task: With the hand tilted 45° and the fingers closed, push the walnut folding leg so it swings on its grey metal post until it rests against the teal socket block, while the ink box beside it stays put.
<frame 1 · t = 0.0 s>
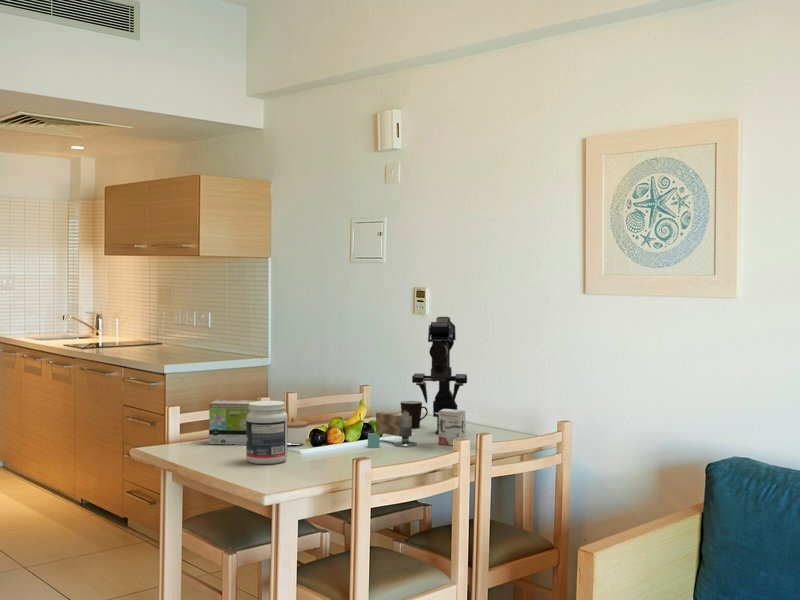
hand: (439, 403, 299), 15 cm above the table, tool pointing down, fingers open, 9 cm apart
ink box: (452, 444, 303), on the table
lidded jar: (292, 445, 301), on the table
supplement tub: (266, 461, 271), on the table
tea box: (232, 443, 304), on the table
stool pivot and socket: (405, 445, 300), on the table
leg: (394, 424, 304), point 7 cm above the table, hinge at 0.0°
coffee mug: (412, 428, 338), on the table
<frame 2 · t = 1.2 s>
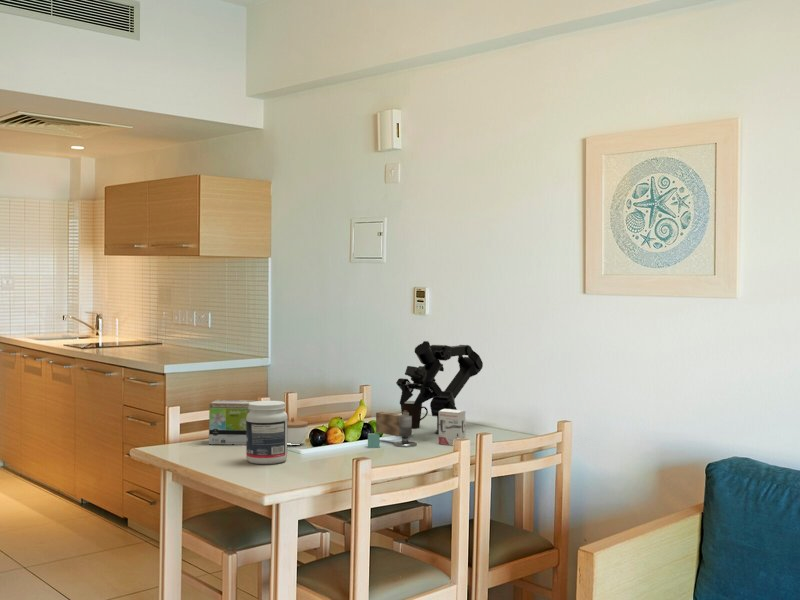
hand: (407, 405, 311), 12 cm above the table, tool tilted 45°, fingers open, 7 cm apart
nothing on the table moved.
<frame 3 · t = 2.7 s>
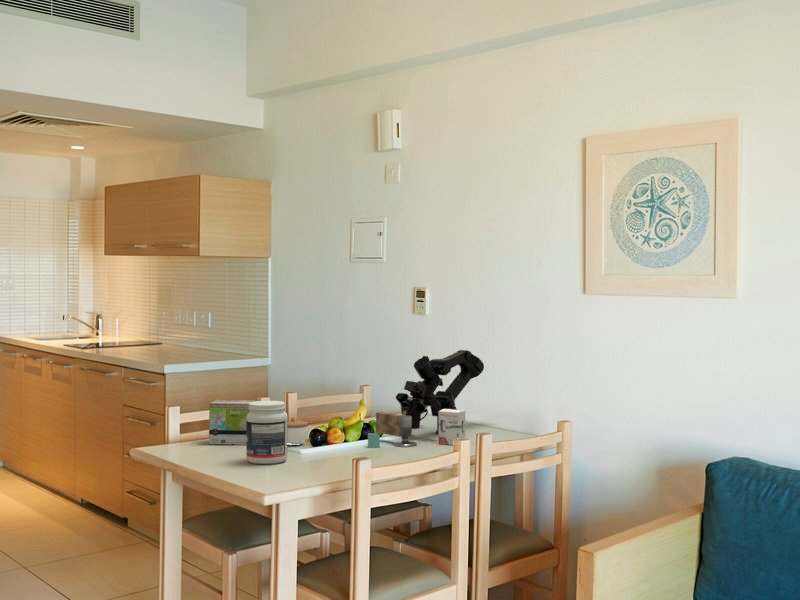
hand: (406, 420, 310), 7 cm above the table, tool tilted 45°, fingers closed
nothing on the table moved.
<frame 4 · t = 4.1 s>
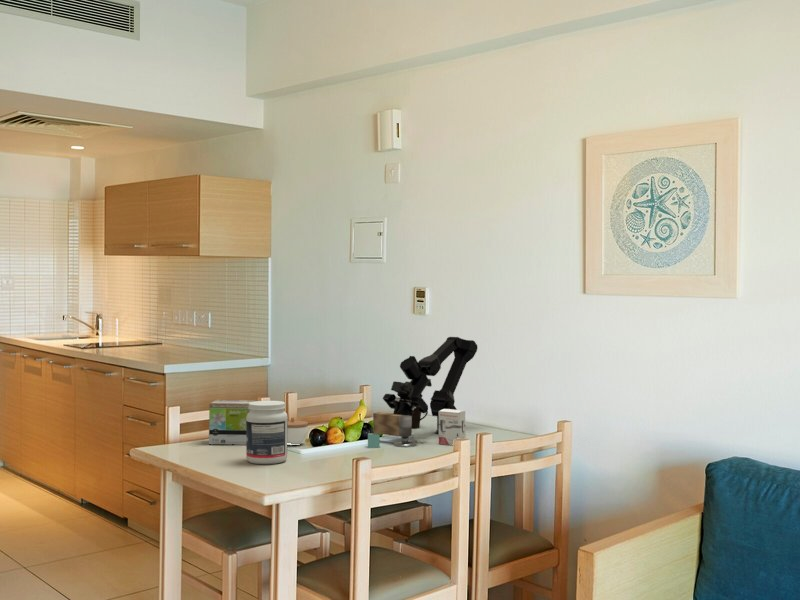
hand: (393, 421, 306), 7 cm above the table, tool tilted 45°, fingers closed, pressing on leg
leg: (392, 424, 304), point 7 cm above the table, hinge at 6.9°, touching gripper
everything else where it was.
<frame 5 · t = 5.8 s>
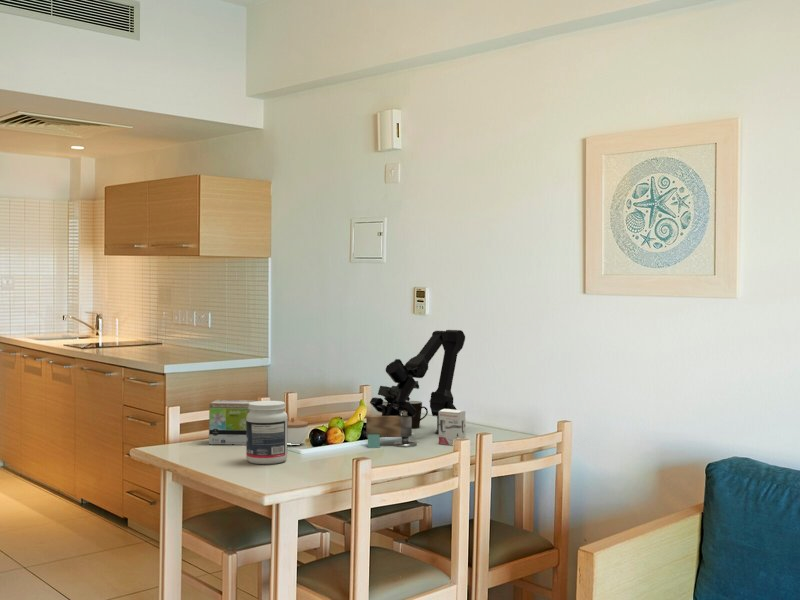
hand: (381, 426, 302), 6 cm above the table, tool tilted 40°, fingers closed
leg: (389, 426, 300), point 7 cm above the table, hinge at 48.7°, touching gripper
everything else where it was.
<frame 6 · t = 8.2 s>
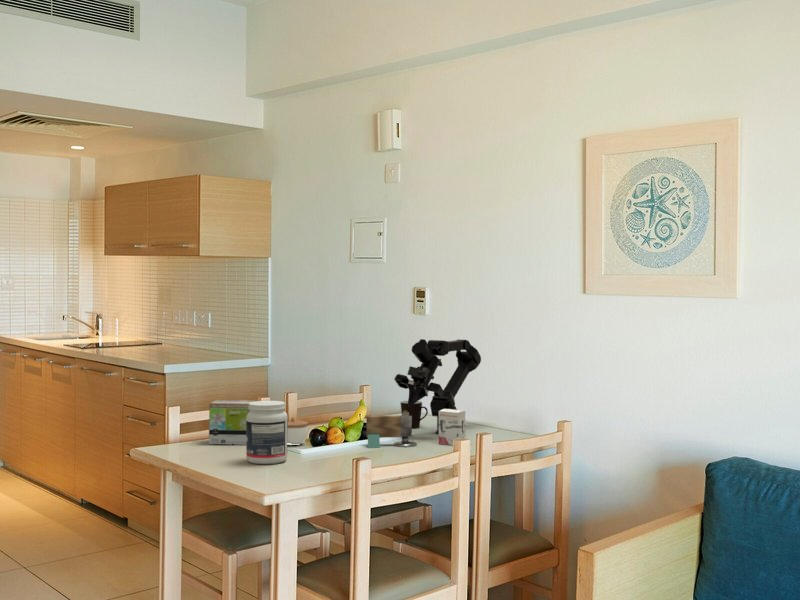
hand: (409, 405, 311), 12 cm above the table, tool tilted 40°, fingers closed
leg: (389, 426, 300), point 7 cm above the table, hinge at 48.7°
everything else where it was.
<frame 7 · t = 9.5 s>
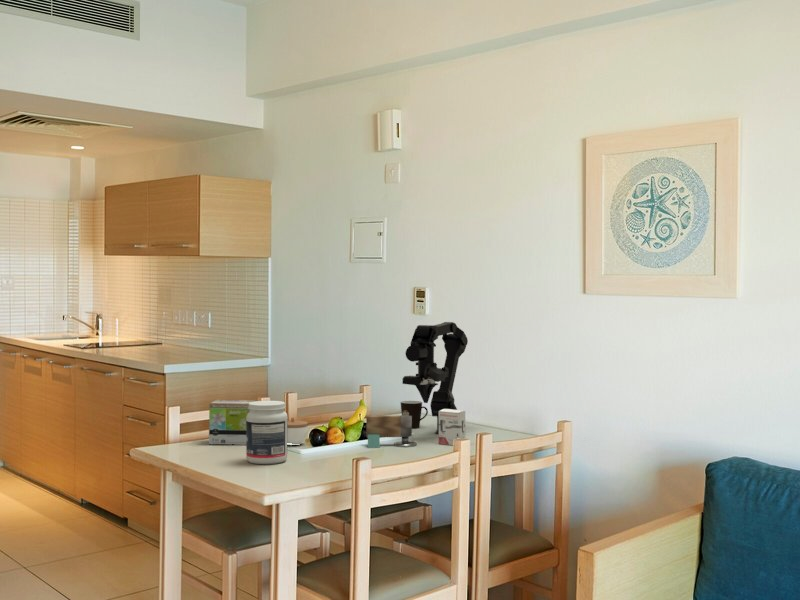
hand: (425, 402, 314), 13 cm above the table, tool pointing down, fingers closed
nothing on the table moved.
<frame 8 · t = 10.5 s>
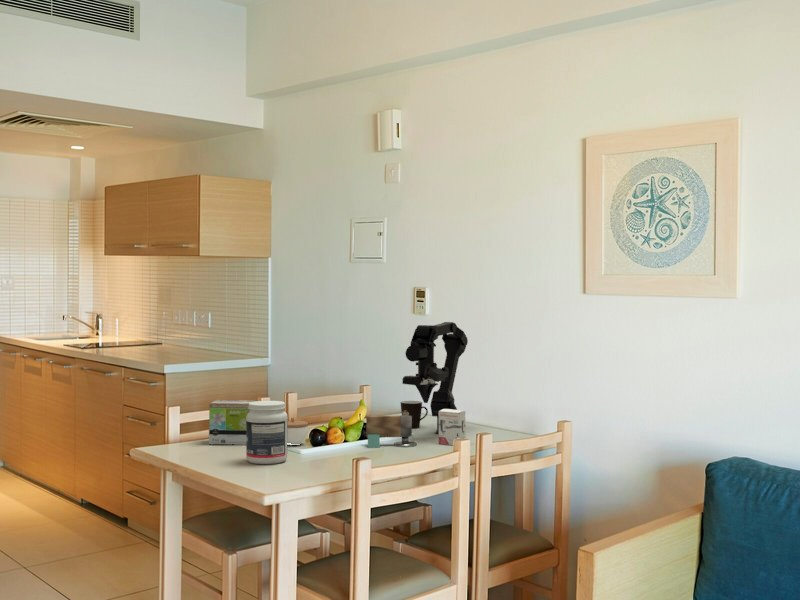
hand: (425, 402, 314), 13 cm above the table, tool pointing down, fingers closed
nothing on the table moved.
at the end: leg at +49° (first picture: +0°); ink box moved 0.2 cm from its start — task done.
